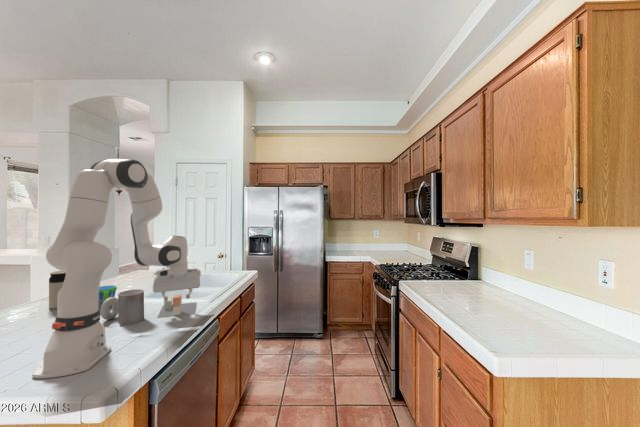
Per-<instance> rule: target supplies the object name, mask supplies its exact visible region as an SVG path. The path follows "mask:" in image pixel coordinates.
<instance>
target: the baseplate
mask: <svg viewBox="0 0 640 427" xmlns="http://www.w3.org/2000/svg"><path fill="white" fill-rule="evenodd" d="M161 306H162V307H161V308H160V310H159V313H158V315H157V317H156V319H161V318H171V317H181V316H193V315H196V313H197V301H196V302H186V303H181V314H180V315H175V316H173V303H172V308H171V309H166V310H164V304H163V305H161Z"/></svg>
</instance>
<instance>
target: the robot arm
mask: <svg viewBox="0 0 640 427" xmlns="http://www.w3.org/2000/svg"><path fill="white" fill-rule="evenodd" d="M113 188H115V189H125V190H126V191H127V193H128V198H129V201H130V204H131V210H132V213H131V214H130V226H131V232H132V233H131V234H132V238H133V244H134V251H133V252H134V255H133V257H134V259H135V260H134V261H135V262H136V264H138V265H140V266H143V267H146V266H147V267H148V266H153V267H162V268H158V269H157V270H156V272H155V276H154V279H153V282H152V291H153V292H154V293H160V294H161V296H162V297H163V302H164V301H168V298H169V297H168V296H166V295H165V294H166V292H173V291H183V290H184V291H185V290H188V292H187V293H186V294H185V298H186V300H187V299H191V294H192V292H193V290H194V289H199V288H201V287H200V286H201V278H200V277H201V275H202V274H201V270H200V269H199V268H189V267H188V258H187V257H188V254H189V253H188V241H187V238H186V237H184V236H181V235H169V236H168V238H167V239H166V240H165V241H164V242H162V243H160V244H159V243H153V242H151V240H150V236H149V229H148V224H149V222H150V221H152V220H154V219H155V218H157V217H158V216H159V215H160V214H161V213H162V210H163V201H162V198H161V193H160V191H159V188H158V186H157V184H156V182H155V179H154V178H153V176H152V175H151V174H150V173H148V172H147V169H146V168H145V166H144V164H143V163H141V162H140V161H138V160H136V159H132V158H125V159H124V158H109V159H100V160H98V161H96V162H94V163H92V165H91V166H90V168H89V169H84V170H81V171H79V172H78V173H77V175H76V177H75V179H74V182H73V184H72V187H71V190H70V194H69V198H68V204H67V207H66V211H65V212H66V213H65V217H64V221H63V223H62V225H61V228H60V230H59V232H58V234H57V236H56V238H55V240H54V242H53V243H52V244H51V245H50V246H49V247H48V249H47V251H46V253H45V258H46V261H47V263H48V264H49V265H51V266H52V267H53V268H54V269H56V270H57V271H66V276H65V280H64V283H63V286H62V288H61V289H60V290H59V292H58V294H57V309H56V311H57V313H56V314H57V315H56V316H55V320H54V322H53V323H52V324H51V329H52V330H54V331H53V332H52V333H51V336H50V338H49V341H48V343H47V345H46V347H45V350H44V352H43V357H42V359H41V360H40V361H39V364H38V365H37V367H36V368H35V370H34V372H33V373H32V378H33V379H51V378H58V377H65V376H70V375H74V374H79V373H82V372H85V371H88V370H90V368H92V367H93V366H94V365H95V364H97V363H98V362H99V361H100V360H101V359H102V358H104V357H105V356H106V355H107V354H108V353H109V352H111V350H112V347H111V346H110V345H107V341H106V338H107V337H106V336H107V335H106V328H105V327H106V326H104V325H103V324H101V322H100V320H101V313H100V309H98V304H99V287H101V286H100V285H101V282H102V279H103V275H104V272H105V270H106V269H108V268H109V266H110V264H111V262H112V258H113V255H112V251H111V249H110V248H108V247H107V246H106V245H104V244H103V243H99V242H98V241H94V240H95V238H96V236H97V234H99V233H98V232H99V231H100V230H101V229H102V228H103V227H104V226H105V223H106V217H107V214H108V213H107V212H108V208H109V207H108V206H109V199H110V193H111V191H112V190H113Z"/></svg>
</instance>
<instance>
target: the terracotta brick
mask: <svg viewBox="0 0 640 427" xmlns="http://www.w3.org/2000/svg"><path fill="white" fill-rule="evenodd" d="M182 296H183V294H174V296H173V297H172V304H173V307H179V306H180V305H181V304H183V303H182V300H183V299H182Z"/></svg>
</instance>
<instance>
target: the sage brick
mask: <svg viewBox="0 0 640 427" xmlns="http://www.w3.org/2000/svg"><path fill="white" fill-rule="evenodd" d="M163 303H164V304H163V305H164V310H166V309H171V308H172V304H173V297H168V301H164V300H163Z"/></svg>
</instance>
